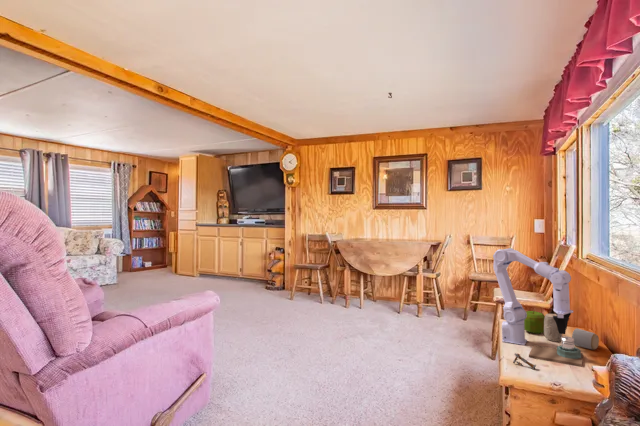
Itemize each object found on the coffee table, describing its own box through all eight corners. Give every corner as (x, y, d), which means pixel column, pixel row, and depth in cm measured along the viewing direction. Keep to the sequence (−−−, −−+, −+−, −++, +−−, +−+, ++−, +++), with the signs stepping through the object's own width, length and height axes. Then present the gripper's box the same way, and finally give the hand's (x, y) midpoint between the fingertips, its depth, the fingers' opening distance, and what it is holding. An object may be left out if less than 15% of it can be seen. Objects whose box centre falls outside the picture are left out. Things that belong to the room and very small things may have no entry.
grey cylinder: (593, 352, 153) (592, 334, 154) (571, 346, 160) (571, 329, 161) (603, 347, 159) (602, 329, 160) (582, 342, 166) (581, 325, 166)
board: (528, 357, 150) (528, 348, 150) (533, 347, 161) (533, 339, 161) (581, 366, 139) (581, 357, 139) (582, 355, 150) (582, 347, 150)
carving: (565, 343, 165) (563, 317, 166) (546, 341, 168) (545, 316, 168) (560, 338, 171) (559, 313, 172) (542, 337, 174) (541, 312, 174)
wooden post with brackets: (511, 360, 146) (516, 351, 145) (531, 373, 140) (536, 364, 139) (510, 361, 145) (514, 352, 143) (530, 375, 139) (534, 365, 138)
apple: (519, 328, 189) (518, 307, 189) (542, 329, 186) (541, 308, 186) (525, 335, 178) (524, 313, 179) (550, 336, 175) (549, 313, 176)
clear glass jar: (562, 355, 148) (561, 338, 148) (561, 352, 152) (560, 335, 152) (575, 357, 146) (574, 340, 146) (574, 353, 150) (573, 337, 150)
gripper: (571, 303, 145) (573, 337, 144) (573, 297, 156) (575, 328, 156) (551, 301, 149) (552, 334, 149) (554, 295, 160) (555, 325, 160)
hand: (562, 331), depth 153 cm, fingers open, 7 cm apart
